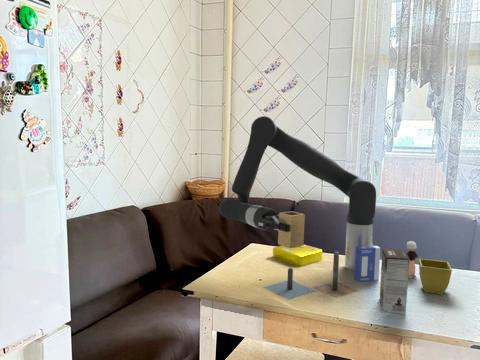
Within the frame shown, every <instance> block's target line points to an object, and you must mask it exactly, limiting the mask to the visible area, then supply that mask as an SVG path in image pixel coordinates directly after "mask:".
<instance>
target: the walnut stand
mask: <svg viewBox="0 0 480 360" xmlns="http://www.w3.org/2000/svg"><path fill="white" fill-rule="evenodd" d="M339 263H340V252H339V251H334V252H333V265H332V266H333V269H332V270H333V271H332V281H330V282H325V283H323V284H319V285H316V286H313V287H312V288H311V289H314V290H316V291H319V292H322V293H324V294H327V295H329V296H332V297H334V298H340V297H343V296H345V295H350V294H352V293H355V292H358V290H357V289H355V288H353V287H349V286H347V285H344V284H341V283H339Z"/></svg>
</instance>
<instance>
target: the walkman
mask: <svg viewBox="0 0 480 360" xmlns="http://www.w3.org/2000/svg"><path fill="white" fill-rule="evenodd" d="M380 256H381V247H380V246H378V245H373V246H359V247H356V257H355V271H354V280H355V281H357V282H371V281H372V282H373V281H379V279H380V265H381V264H380V261H381V257H380Z"/></svg>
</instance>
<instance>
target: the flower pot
mask: <svg viewBox="0 0 480 360" xmlns="http://www.w3.org/2000/svg"><path fill="white" fill-rule="evenodd" d="M418 260H419V261H418V266H419V269H418V270H419V271H418V272H419V279H420V283H421V287H422V289H423V291H424V292H425V293H428V294H429V293H431V294H437V295H443V294H444V293H445V292H446V290H447V289H448V287H449V284H450V281H451V275H452V271H453V269H452V267H451V266H450V265H451V264H450V263H449V262H448V261H444V260H435V259H425V258H418Z"/></svg>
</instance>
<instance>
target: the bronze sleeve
mask: <svg viewBox="0 0 480 360" xmlns="http://www.w3.org/2000/svg"><path fill="white" fill-rule="evenodd" d="M278 215H279V222H280V223H284V224H288V225H289V232H285V231H281V230H277V232H278V235H277V245H279V246H284V247H287V248H296V247H301V246H303V244H304V245H305V243H304V241H305V240H304V239H305V220H306V214H304V213H301V212H297V211H283V212H278Z"/></svg>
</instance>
